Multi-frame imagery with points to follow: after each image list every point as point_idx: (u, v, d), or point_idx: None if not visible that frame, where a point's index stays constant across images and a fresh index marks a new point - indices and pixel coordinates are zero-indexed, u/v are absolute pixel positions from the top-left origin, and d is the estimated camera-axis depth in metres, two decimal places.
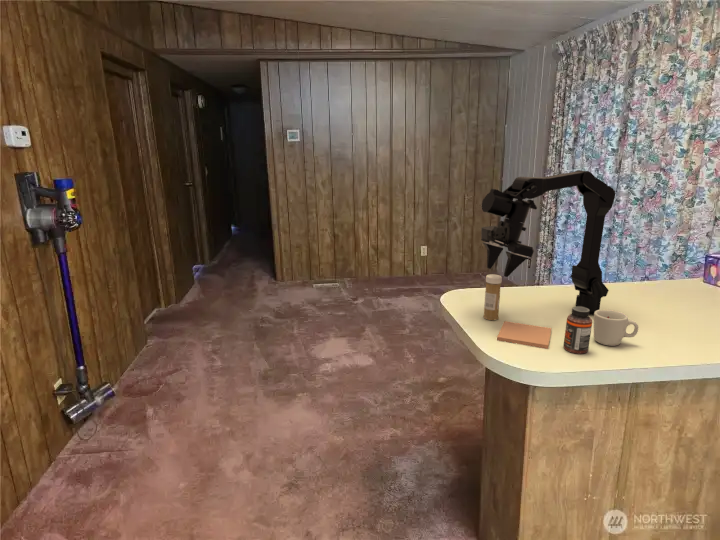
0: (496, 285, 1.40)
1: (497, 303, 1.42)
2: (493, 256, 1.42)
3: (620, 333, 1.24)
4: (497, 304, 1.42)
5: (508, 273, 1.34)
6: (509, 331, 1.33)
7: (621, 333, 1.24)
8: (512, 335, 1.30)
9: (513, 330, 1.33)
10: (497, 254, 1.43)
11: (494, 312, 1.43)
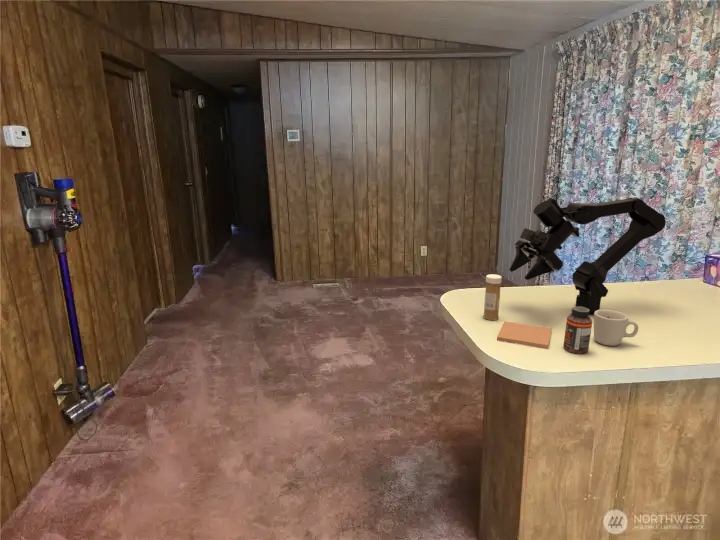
0: (496, 285, 1.40)
1: (497, 303, 1.42)
2: (519, 262, 1.47)
3: (620, 333, 1.24)
4: (497, 304, 1.42)
5: (529, 277, 1.38)
6: (509, 331, 1.33)
7: (621, 333, 1.24)
8: (512, 335, 1.30)
9: (513, 330, 1.33)
10: (523, 262, 1.48)
11: (494, 312, 1.43)
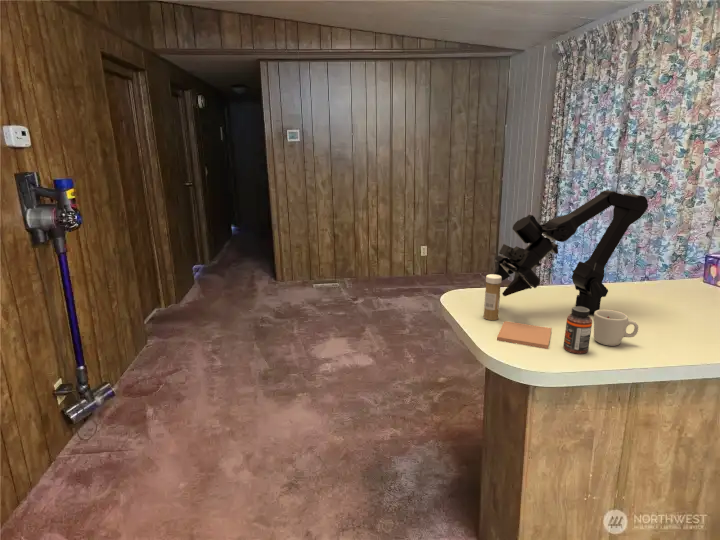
0: (496, 285, 1.40)
1: (497, 303, 1.42)
2: None
3: (620, 333, 1.24)
4: (497, 304, 1.42)
5: (507, 293, 1.38)
6: (509, 331, 1.33)
7: (621, 333, 1.24)
8: (512, 335, 1.30)
9: (513, 330, 1.33)
10: (502, 278, 1.48)
11: (494, 312, 1.43)
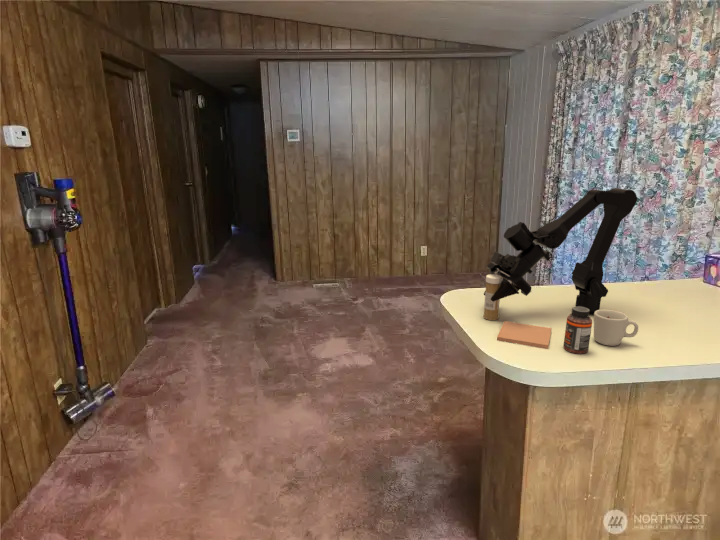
0: (496, 285, 1.40)
1: (497, 303, 1.42)
2: None
3: (620, 333, 1.24)
4: (497, 304, 1.42)
5: (495, 298, 1.41)
6: (509, 331, 1.33)
7: (621, 333, 1.24)
8: (512, 335, 1.30)
9: (513, 330, 1.33)
10: None
11: (494, 312, 1.43)
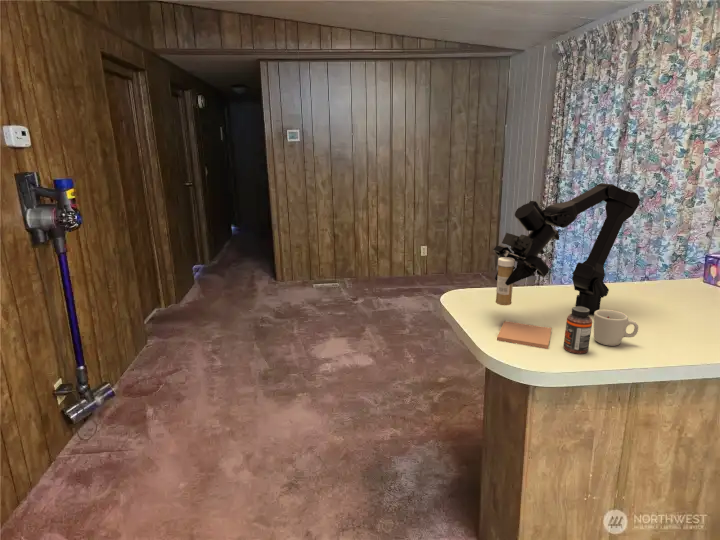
0: (510, 268, 1.33)
1: (511, 287, 1.35)
2: None
3: (620, 333, 1.24)
4: (511, 288, 1.35)
5: (510, 282, 1.34)
6: (509, 331, 1.33)
7: (621, 333, 1.24)
8: (512, 335, 1.30)
9: (513, 330, 1.33)
10: None
11: (508, 296, 1.36)
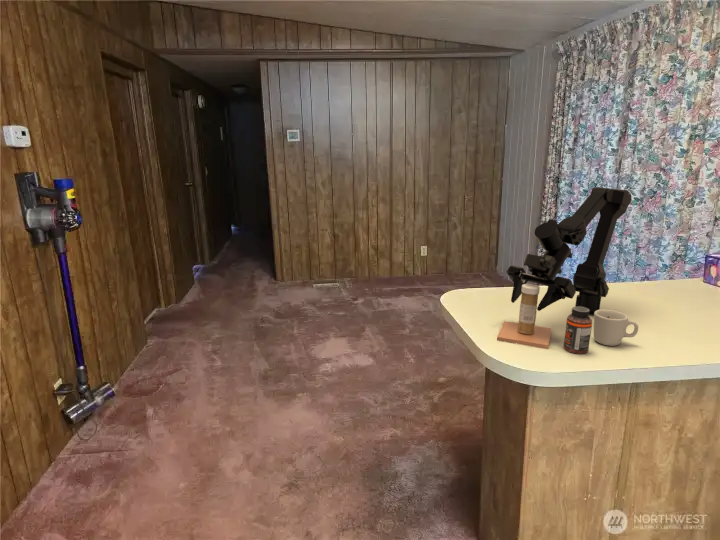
0: (536, 295, 1.27)
1: (535, 315, 1.30)
2: (518, 291, 1.33)
3: (620, 333, 1.24)
4: (535, 316, 1.30)
5: (542, 307, 1.26)
6: (509, 331, 1.33)
7: (621, 333, 1.24)
8: (512, 335, 1.30)
9: (513, 330, 1.33)
10: (521, 291, 1.34)
11: (533, 325, 1.30)
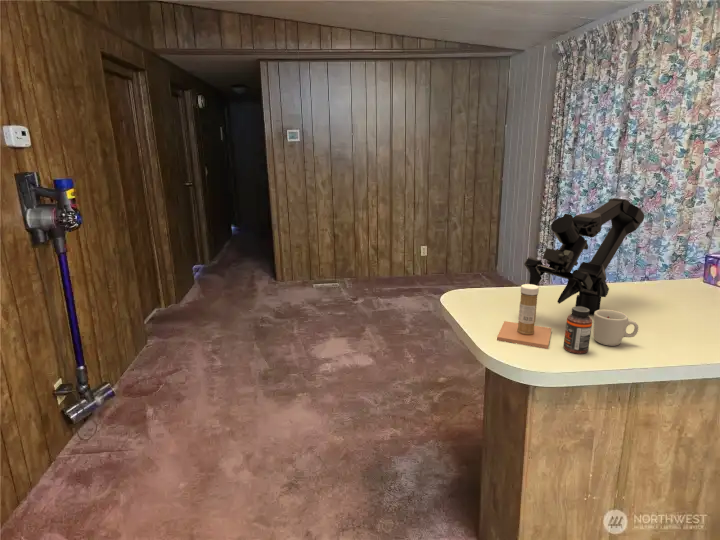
0: (535, 296, 1.27)
1: (535, 315, 1.29)
2: (535, 282, 1.39)
3: (620, 333, 1.24)
4: (535, 316, 1.30)
5: (562, 300, 1.31)
6: (509, 331, 1.33)
7: (621, 333, 1.24)
8: (512, 335, 1.30)
9: (513, 330, 1.33)
10: (537, 282, 1.40)
11: (533, 325, 1.30)
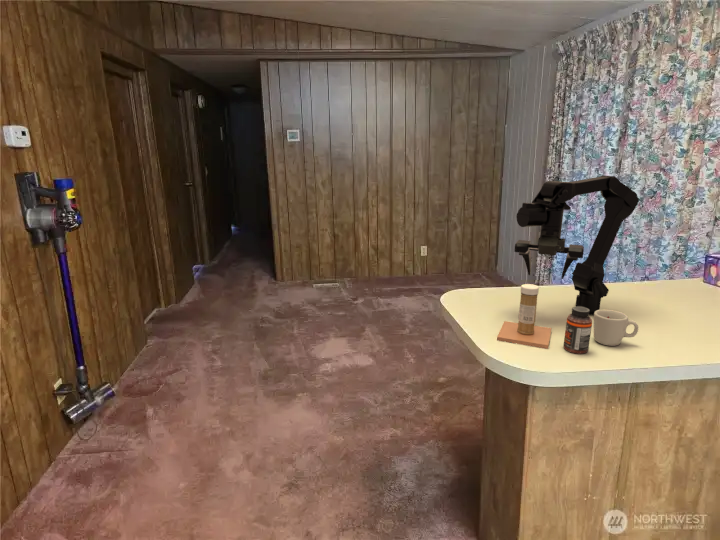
0: (535, 295, 1.27)
1: (535, 315, 1.29)
2: (530, 262, 1.44)
3: (620, 333, 1.24)
4: (535, 316, 1.30)
5: (564, 275, 1.40)
6: (509, 331, 1.33)
7: (621, 333, 1.24)
8: (512, 335, 1.30)
9: (513, 330, 1.33)
10: (530, 258, 1.44)
11: (533, 325, 1.30)
